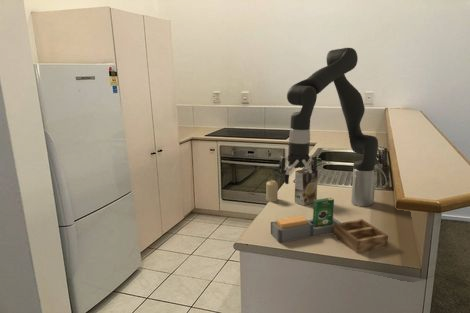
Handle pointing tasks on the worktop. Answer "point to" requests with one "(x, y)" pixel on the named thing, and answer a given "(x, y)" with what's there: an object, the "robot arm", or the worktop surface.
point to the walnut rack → (360, 235)
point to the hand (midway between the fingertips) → (297, 182)
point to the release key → (291, 222)
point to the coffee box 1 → (305, 187)
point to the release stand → (300, 231)
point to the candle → (271, 190)
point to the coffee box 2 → (323, 212)
